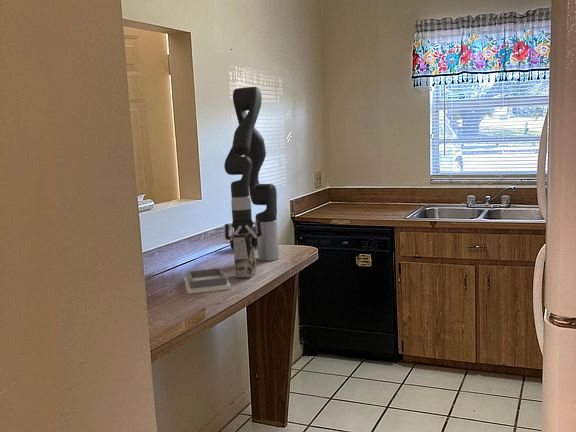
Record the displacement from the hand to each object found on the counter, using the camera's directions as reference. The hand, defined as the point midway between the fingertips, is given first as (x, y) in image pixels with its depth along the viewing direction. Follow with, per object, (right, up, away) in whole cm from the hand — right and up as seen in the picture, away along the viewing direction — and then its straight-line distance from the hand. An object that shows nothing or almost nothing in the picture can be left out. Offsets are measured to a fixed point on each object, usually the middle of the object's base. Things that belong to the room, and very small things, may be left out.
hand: (244, 248), depth 236 cm
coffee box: (+1, -11, +2) cm, 11 cm away
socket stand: (-14, -13, -8) cm, 21 cm away
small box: (-3, -3, +52) cm, 52 cm away
